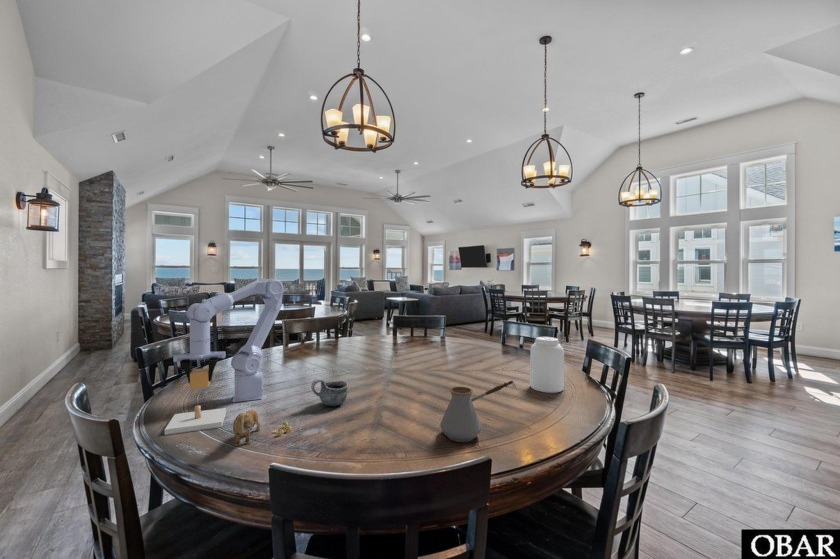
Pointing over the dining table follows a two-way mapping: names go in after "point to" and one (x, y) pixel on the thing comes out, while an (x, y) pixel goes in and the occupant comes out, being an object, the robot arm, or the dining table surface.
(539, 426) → the dining table surface
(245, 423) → the lion figurine
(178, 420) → the plate
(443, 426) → the coffee pot
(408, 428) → the dining table surface
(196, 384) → the orange cube
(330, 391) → the mug
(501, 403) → the dining table surface
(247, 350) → the robot arm
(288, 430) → the dice set
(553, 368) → the white jar
